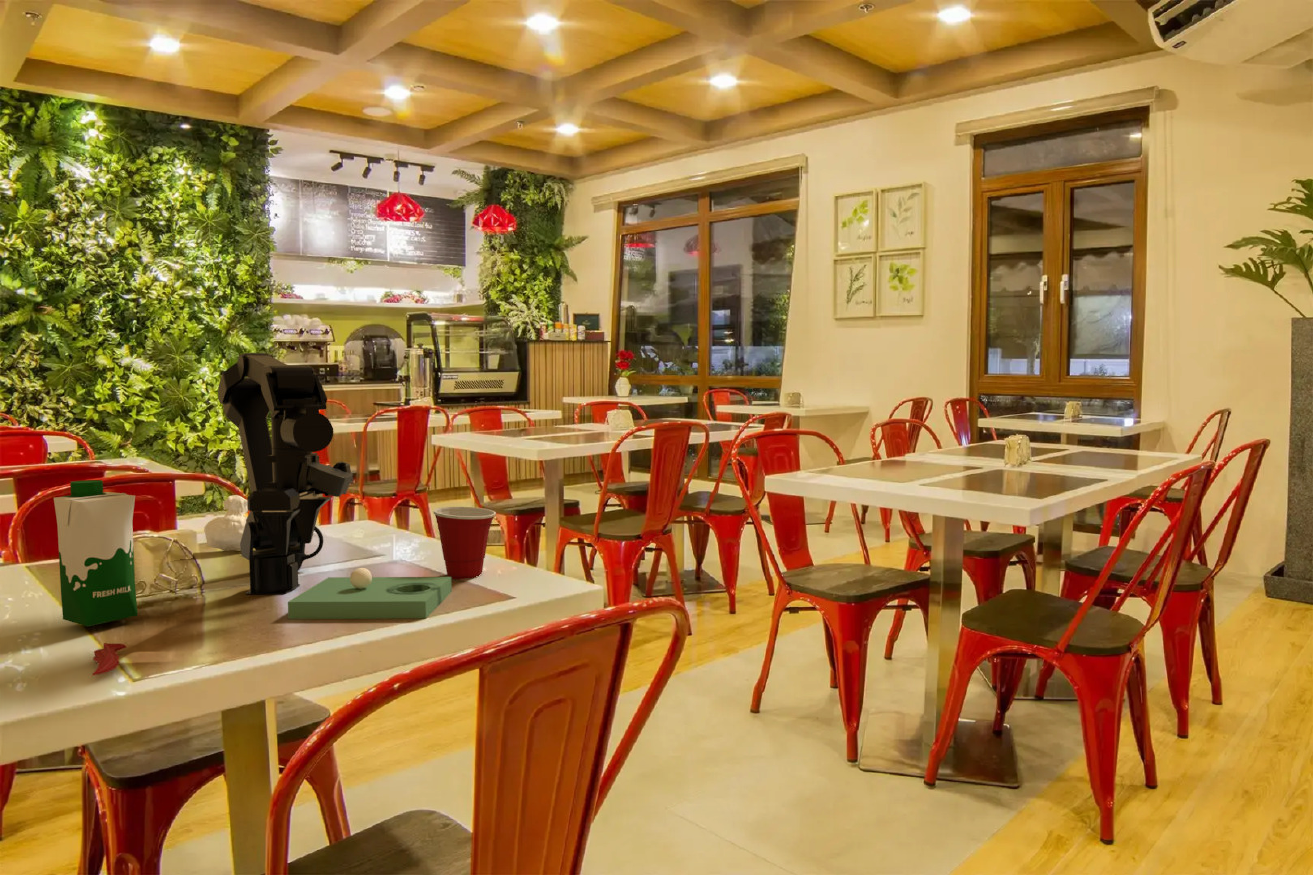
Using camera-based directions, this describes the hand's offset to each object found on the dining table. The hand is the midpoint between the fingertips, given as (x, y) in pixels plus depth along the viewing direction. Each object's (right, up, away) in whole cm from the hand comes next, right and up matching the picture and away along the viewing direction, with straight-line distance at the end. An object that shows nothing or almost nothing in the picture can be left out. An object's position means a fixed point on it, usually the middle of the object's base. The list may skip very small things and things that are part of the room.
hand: (295, 548), depth 137 cm
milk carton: (-26, -10, -6) cm, 28 cm away
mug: (-11, -7, +26) cm, 29 cm away
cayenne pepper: (-14, -11, -25) cm, 30 cm away
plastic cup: (+22, -8, +19) cm, 30 cm away
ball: (+10, -5, 0) cm, 11 cm away
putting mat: (+12, -9, 0) cm, 15 cm away
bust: (-31, -6, +45) cm, 55 cm away
